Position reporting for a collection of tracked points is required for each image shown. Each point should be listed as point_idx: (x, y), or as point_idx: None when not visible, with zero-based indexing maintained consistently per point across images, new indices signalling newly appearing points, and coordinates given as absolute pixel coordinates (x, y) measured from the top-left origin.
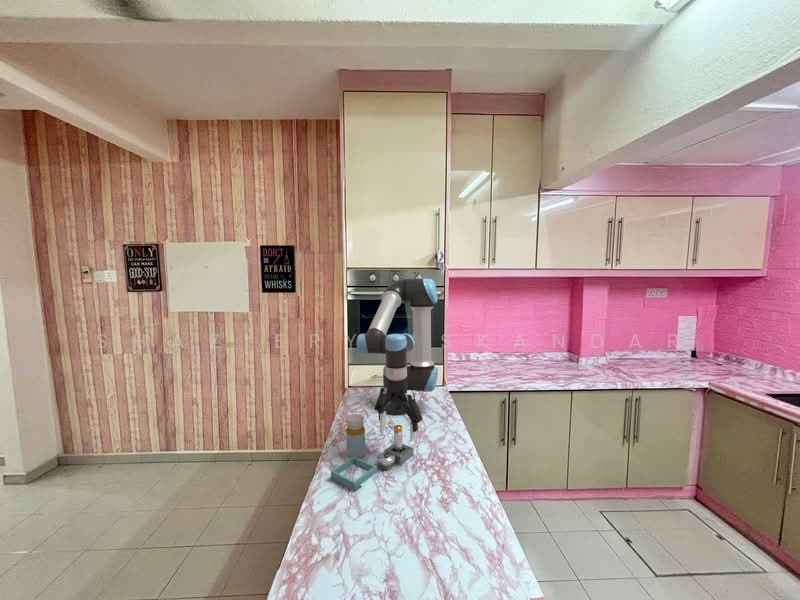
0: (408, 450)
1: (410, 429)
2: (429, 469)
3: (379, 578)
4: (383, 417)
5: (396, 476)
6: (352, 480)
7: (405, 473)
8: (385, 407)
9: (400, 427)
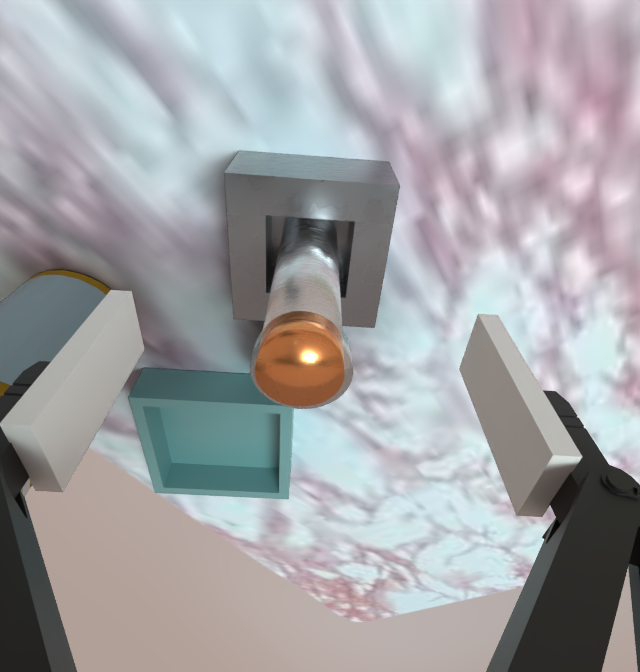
0: (383, 238)
1: (497, 450)
2: (532, 221)
3: (506, 576)
4: (80, 420)
5: (381, 348)
6: (270, 493)
7: (411, 313)
8: (32, 553)
9: (333, 374)
